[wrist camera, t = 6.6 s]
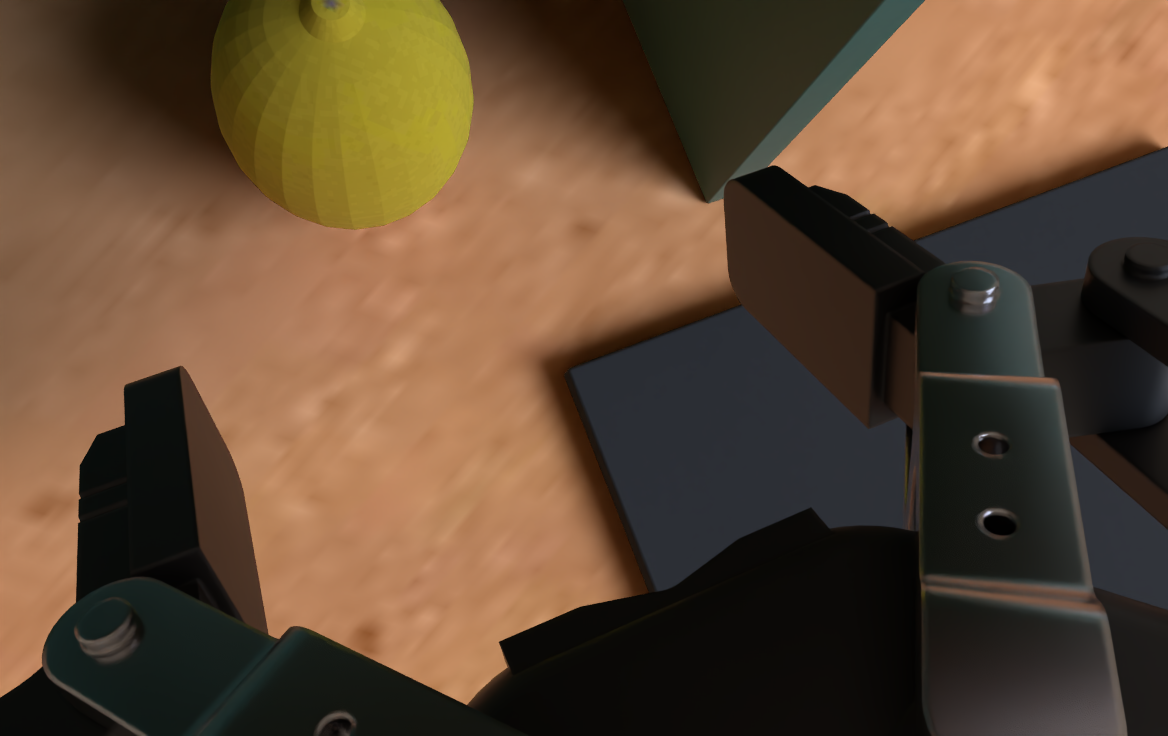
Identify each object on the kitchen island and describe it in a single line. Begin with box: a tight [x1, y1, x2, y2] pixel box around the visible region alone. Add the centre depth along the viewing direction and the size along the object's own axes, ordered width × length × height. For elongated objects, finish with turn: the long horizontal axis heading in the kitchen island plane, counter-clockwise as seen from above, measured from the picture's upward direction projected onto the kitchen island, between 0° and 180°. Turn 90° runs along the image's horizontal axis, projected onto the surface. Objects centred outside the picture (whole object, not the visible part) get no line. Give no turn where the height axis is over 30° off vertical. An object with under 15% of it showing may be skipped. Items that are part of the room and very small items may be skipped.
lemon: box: [210, 0, 473, 230], centre depth 21 cm, size 6×6×8 cm
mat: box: [564, 147, 1168, 610], centre depth 26 cm, size 20×13×1 cm, turn 112°
